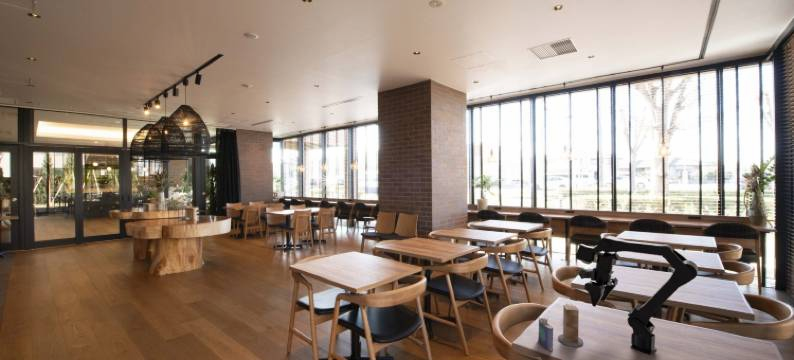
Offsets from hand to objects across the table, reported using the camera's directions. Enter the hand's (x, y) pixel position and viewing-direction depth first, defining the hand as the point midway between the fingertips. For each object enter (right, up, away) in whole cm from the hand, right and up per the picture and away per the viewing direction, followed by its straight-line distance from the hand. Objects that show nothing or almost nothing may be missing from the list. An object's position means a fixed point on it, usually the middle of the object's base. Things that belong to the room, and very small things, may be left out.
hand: (598, 303), depth 143 cm
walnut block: (-13, -13, -4) cm, 19 cm away
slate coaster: (-13, -14, -4) cm, 19 cm away
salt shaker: (-3, -13, +17) cm, 22 cm away
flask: (-25, -14, -7) cm, 29 cm away
